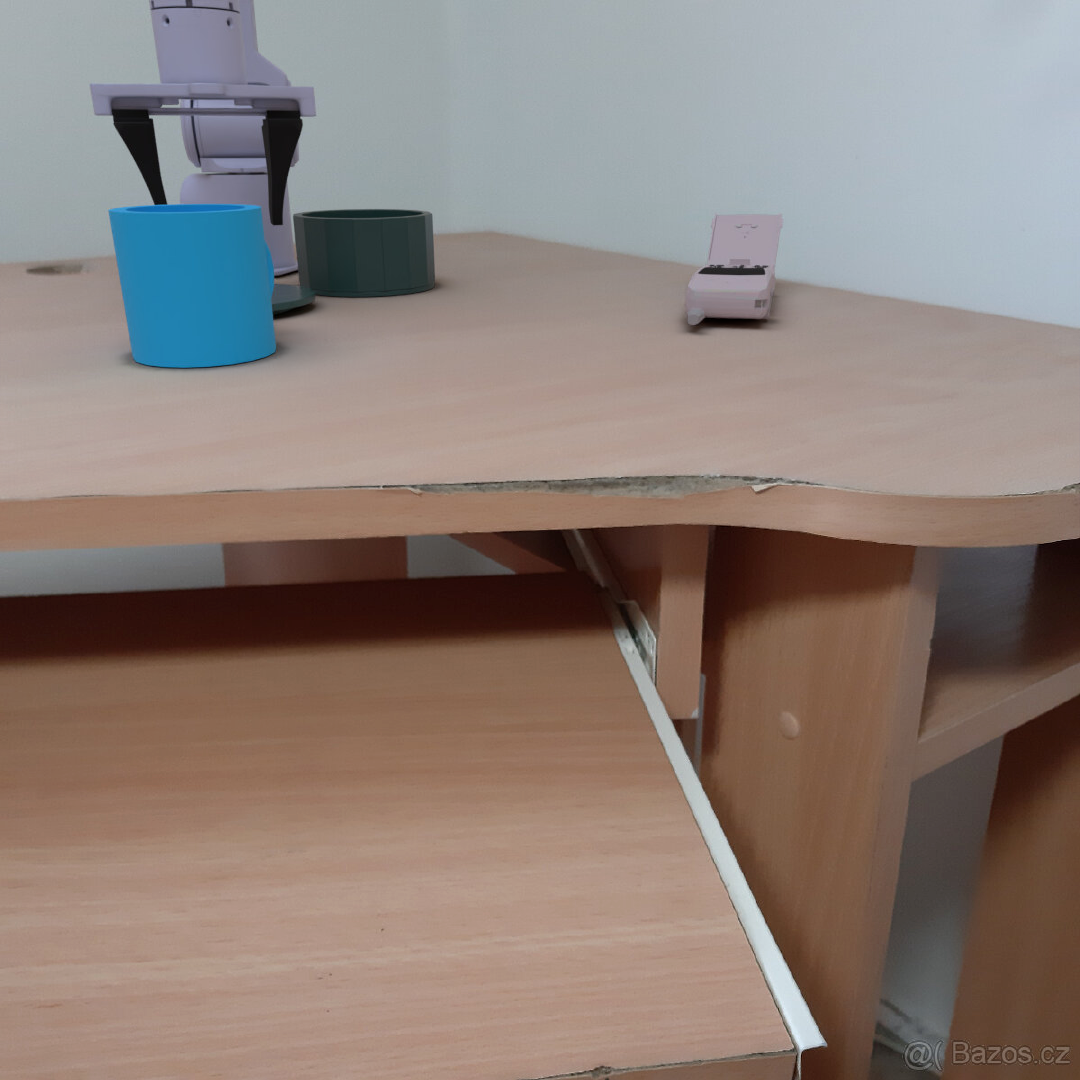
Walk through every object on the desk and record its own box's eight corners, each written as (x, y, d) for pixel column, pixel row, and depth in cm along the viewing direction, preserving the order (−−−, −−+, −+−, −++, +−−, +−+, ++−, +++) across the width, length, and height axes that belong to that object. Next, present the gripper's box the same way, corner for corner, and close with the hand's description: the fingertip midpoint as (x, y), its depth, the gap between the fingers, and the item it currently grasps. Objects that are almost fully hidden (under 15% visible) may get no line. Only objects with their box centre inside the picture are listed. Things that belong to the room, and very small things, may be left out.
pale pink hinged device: (784, 213, 82) (776, 238, 59) (778, 283, 84) (768, 333, 62) (713, 213, 83) (679, 237, 61) (709, 282, 85) (675, 331, 63)
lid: (111, 321, 67) (99, 254, 65) (198, 295, 78) (190, 237, 76) (274, 326, 65) (267, 258, 63) (340, 299, 76) (335, 240, 74)
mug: (227, 371, 52) (207, 214, 49) (101, 362, 54) (74, 211, 51) (330, 332, 63) (319, 201, 60) (221, 326, 65) (205, 199, 62)
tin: (277, 295, 78) (269, 217, 76) (330, 276, 88) (324, 208, 86) (411, 298, 76) (407, 219, 74) (449, 279, 87) (446, 209, 84)
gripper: (72, 1, 58) (111, 234, 64) (313, 10, 63) (331, 227, 68) (81, 13, 64) (116, 225, 70) (300, 21, 69) (317, 219, 74)
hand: (222, 225), depth 69 cm, fingers open, 7 cm apart
